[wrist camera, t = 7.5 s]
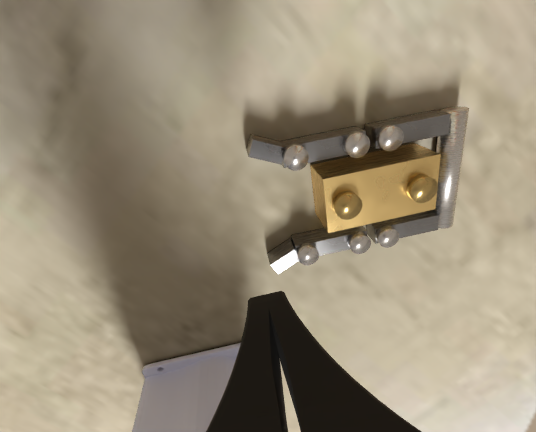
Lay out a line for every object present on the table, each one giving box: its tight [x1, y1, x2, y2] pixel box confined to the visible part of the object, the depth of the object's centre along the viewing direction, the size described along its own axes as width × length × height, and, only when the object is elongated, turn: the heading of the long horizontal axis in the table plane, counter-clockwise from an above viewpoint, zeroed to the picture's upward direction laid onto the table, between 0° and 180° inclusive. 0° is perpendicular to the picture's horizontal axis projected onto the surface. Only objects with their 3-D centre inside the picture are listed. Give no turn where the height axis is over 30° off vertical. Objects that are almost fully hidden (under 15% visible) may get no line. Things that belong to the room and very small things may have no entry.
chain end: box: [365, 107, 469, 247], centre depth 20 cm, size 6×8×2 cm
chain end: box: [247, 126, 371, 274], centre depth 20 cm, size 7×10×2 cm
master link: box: [310, 143, 441, 233], centre depth 19 cm, size 7×4×4 cm, turn 100°
